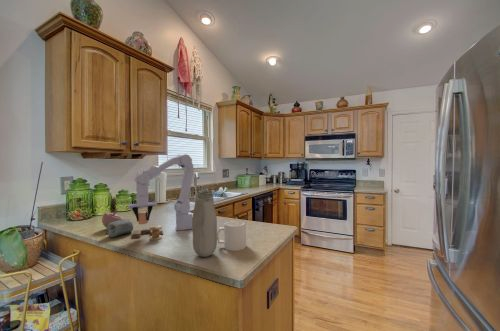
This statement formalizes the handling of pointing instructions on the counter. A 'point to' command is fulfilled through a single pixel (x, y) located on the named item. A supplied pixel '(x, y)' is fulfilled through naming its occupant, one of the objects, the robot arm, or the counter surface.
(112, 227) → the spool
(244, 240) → the mug
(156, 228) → the bobbin
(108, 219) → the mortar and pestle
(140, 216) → the salmon pink cuboid
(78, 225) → the counter surface
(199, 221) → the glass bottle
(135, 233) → the notched board
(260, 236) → the counter surface
